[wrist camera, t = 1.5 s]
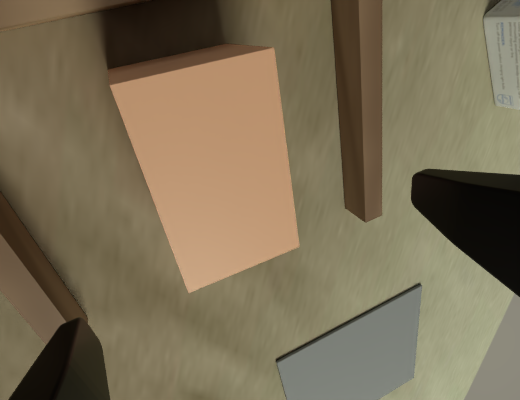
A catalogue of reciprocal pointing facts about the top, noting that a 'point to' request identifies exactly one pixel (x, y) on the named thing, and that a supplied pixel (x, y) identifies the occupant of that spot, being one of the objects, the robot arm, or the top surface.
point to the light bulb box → (504, 51)
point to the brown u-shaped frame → (351, 133)
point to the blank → (212, 155)
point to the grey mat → (358, 355)
